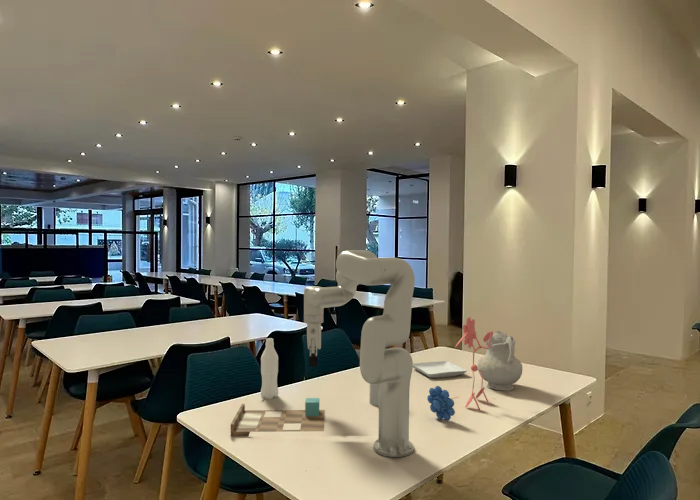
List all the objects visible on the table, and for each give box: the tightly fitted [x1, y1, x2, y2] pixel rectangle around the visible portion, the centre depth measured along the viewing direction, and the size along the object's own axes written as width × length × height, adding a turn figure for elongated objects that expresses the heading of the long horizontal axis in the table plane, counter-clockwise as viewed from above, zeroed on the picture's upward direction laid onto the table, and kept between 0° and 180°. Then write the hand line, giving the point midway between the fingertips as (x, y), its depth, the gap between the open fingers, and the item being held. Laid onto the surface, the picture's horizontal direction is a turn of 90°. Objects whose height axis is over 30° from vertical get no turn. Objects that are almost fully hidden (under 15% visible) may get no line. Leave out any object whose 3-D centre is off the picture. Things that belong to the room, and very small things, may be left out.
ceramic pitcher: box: [477, 330, 523, 392], centre depth 211 cm, size 22×20×25 cm
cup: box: [369, 383, 381, 407], centre depth 190 cm, size 8×8×12 cm
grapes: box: [426, 385, 456, 422], centre depth 172 cm, size 12×7×12 cm, turn 46°
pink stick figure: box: [452, 316, 495, 410], centre depth 191 cm, size 15×26×35 cm, turn 142°
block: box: [304, 397, 320, 416], centre depth 173 cm, size 5×5×5 cm
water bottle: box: [260, 337, 279, 401], centre depth 193 cm, size 7×7×25 cm
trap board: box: [230, 403, 326, 437], centre depth 167 cm, size 20×31×4 cm, turn 92°
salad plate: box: [413, 360, 468, 379], centre depth 236 cm, size 21×21×3 cm
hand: (313, 365), depth 181 cm, fingers closed
